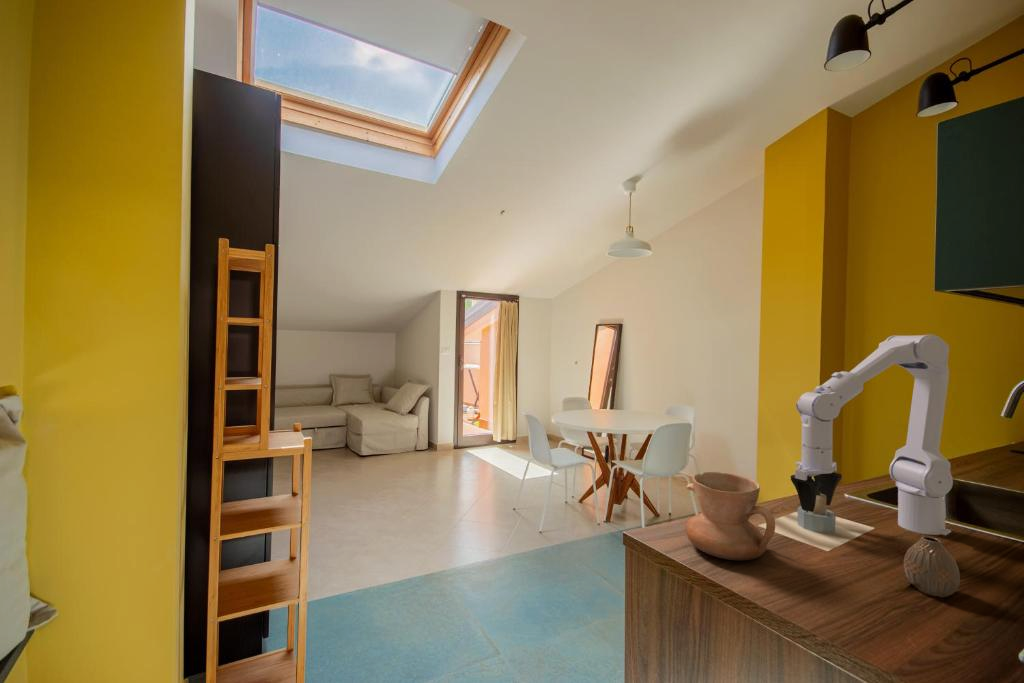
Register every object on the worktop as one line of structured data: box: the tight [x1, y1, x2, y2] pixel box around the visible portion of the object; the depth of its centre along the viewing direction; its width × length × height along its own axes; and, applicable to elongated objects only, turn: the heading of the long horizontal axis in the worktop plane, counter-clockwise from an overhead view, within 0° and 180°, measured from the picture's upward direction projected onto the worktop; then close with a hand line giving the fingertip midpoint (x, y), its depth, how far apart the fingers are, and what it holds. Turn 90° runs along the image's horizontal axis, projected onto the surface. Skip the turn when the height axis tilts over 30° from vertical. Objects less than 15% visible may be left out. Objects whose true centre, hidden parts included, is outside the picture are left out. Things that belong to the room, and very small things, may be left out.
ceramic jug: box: [685, 471, 775, 561], centre depth 88 cm, size 18×14×14 cm
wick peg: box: [808, 491, 827, 515], centre depth 99 cm, size 3×3×8 cm
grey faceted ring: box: [797, 505, 837, 533], centre depth 99 cm, size 7×7×4 cm
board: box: [757, 510, 876, 552], centre depth 99 cm, size 22×14×1 cm, turn 122°
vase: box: [903, 535, 961, 598], centre depth 75 cm, size 7×7×9 cm
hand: (816, 507), depth 99 cm, fingers open, 7 cm apart
